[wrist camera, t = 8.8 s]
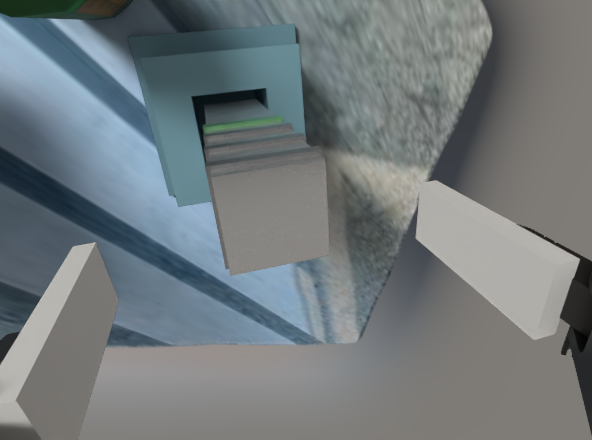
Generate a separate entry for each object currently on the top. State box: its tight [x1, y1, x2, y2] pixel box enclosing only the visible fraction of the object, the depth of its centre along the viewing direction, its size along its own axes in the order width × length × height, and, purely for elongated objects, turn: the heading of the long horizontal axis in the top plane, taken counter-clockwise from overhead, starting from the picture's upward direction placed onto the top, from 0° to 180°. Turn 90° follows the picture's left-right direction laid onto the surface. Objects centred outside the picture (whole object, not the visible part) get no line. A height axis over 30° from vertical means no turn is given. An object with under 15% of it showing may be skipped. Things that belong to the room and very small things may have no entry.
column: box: [203, 99, 330, 276], centre depth 26 cm, size 5×5×22 cm
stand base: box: [128, 24, 305, 207], centre depth 34 cm, size 18×18×21 cm
